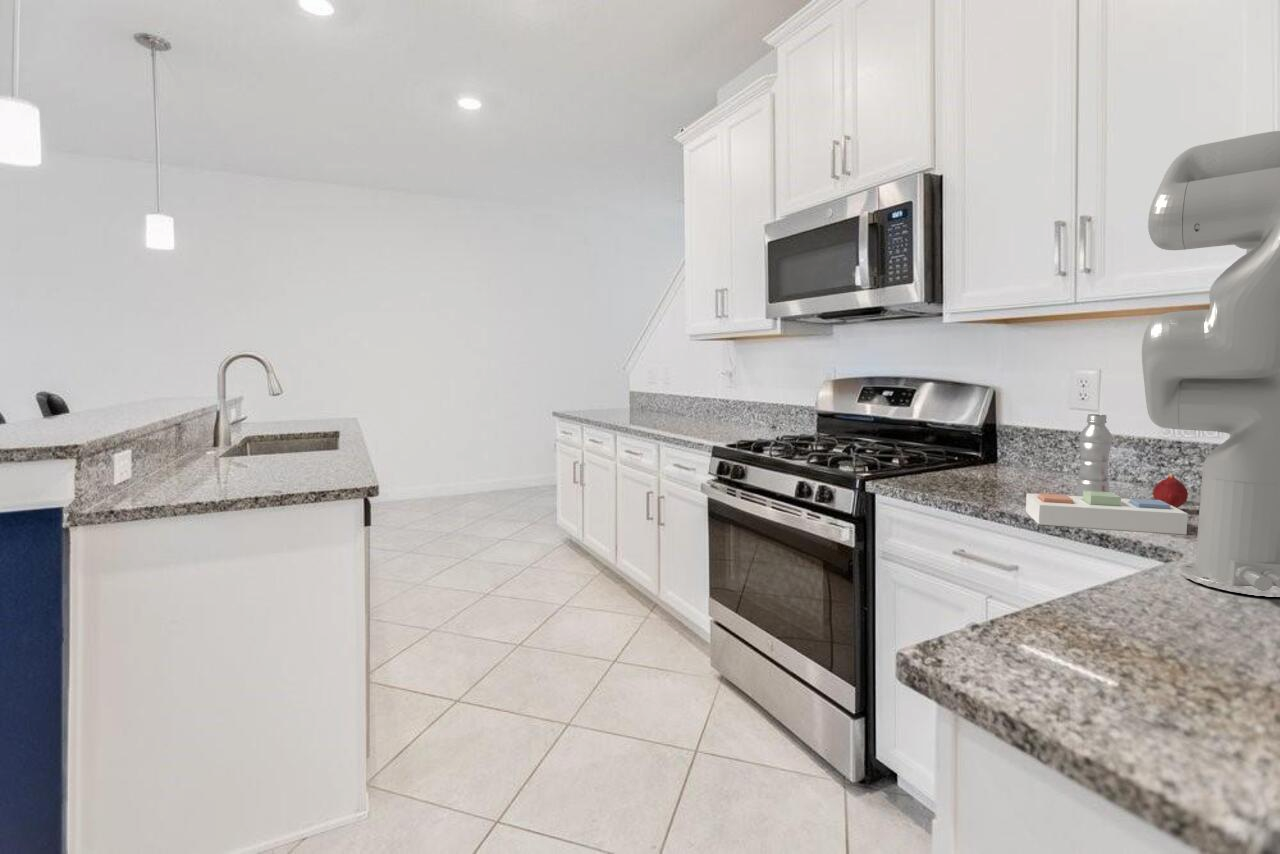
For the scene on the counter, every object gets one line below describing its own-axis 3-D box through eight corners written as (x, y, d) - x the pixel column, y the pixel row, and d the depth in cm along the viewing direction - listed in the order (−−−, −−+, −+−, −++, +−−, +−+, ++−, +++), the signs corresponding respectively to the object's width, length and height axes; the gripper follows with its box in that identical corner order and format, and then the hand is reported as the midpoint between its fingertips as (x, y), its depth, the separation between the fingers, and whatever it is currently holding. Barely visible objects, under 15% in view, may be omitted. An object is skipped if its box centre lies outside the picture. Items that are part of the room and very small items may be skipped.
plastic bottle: (1081, 502, 148) (1086, 415, 146) (1071, 496, 155) (1075, 413, 153) (1113, 503, 146) (1119, 416, 144) (1102, 497, 153) (1107, 413, 151)
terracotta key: (1072, 515, 129) (1073, 499, 129) (1043, 513, 131) (1044, 498, 131) (1065, 510, 134) (1066, 494, 134) (1037, 508, 136) (1038, 493, 135)
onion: (1192, 514, 136) (1195, 477, 135) (1161, 513, 137) (1164, 476, 136) (1175, 508, 141) (1178, 472, 140) (1146, 507, 142) (1148, 471, 142)
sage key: (1119, 513, 126) (1121, 497, 126) (1090, 511, 128) (1091, 495, 128) (1111, 507, 131) (1112, 492, 131) (1082, 506, 133) (1083, 490, 132)
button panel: (1186, 534, 120) (1187, 513, 120) (1038, 524, 128) (1039, 504, 128) (1159, 519, 131) (1161, 500, 131) (1025, 511, 140) (1026, 493, 139)
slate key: (1169, 521, 124) (1170, 505, 123) (1137, 519, 125) (1139, 503, 125) (1158, 515, 128) (1159, 499, 128) (1128, 513, 130) (1129, 498, 130)
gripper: (1333, 275, 99) (1321, 394, 101) (1276, 286, 113) (1267, 390, 115) (1271, 278, 102) (1261, 393, 104) (1223, 288, 116) (1215, 390, 118)
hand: (1264, 391), depth 109 cm, fingers closed
